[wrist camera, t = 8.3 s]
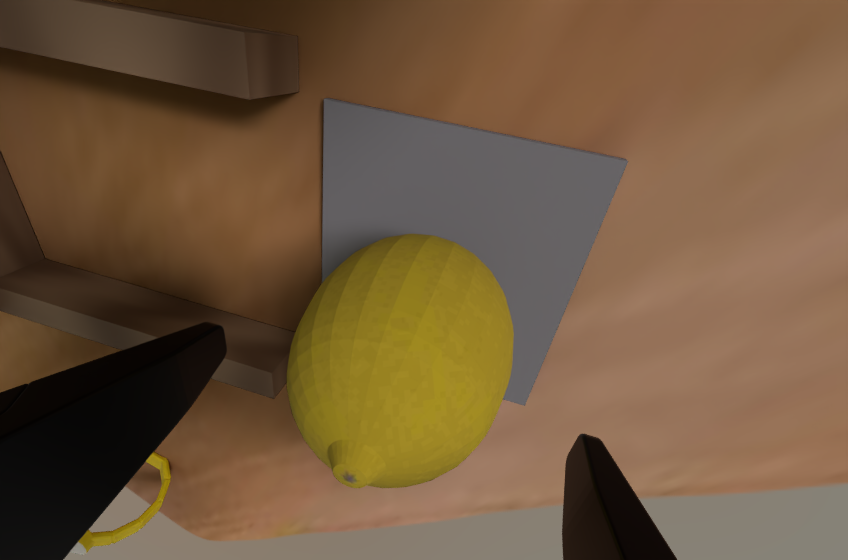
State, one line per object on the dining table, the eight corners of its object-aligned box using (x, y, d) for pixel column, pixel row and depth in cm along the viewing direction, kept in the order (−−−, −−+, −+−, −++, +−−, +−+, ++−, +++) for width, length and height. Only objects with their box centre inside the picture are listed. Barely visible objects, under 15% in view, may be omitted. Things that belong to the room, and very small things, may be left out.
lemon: (538, 321, 14) (538, 574, 7) (401, 345, 16) (304, 557, 9) (490, 173, 12) (428, 336, 5) (340, 223, 14) (156, 385, 7)
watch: (190, 460, 27) (117, 557, 22) (184, 477, 28) (115, 572, 23) (106, 421, 26) (11, 512, 21) (105, 440, 28) (16, 529, 23)
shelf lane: (297, 36, 11) (215, 30, 9) (304, 359, 18) (259, 417, 15) (-112, -39, 14) (-292, -66, 11) (31, 276, 20) (-54, 314, 17)
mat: (626, 158, 11) (627, 161, 11) (525, 400, 16) (524, 405, 16) (328, 97, 12) (323, 98, 12) (324, 341, 17) (321, 345, 17)
